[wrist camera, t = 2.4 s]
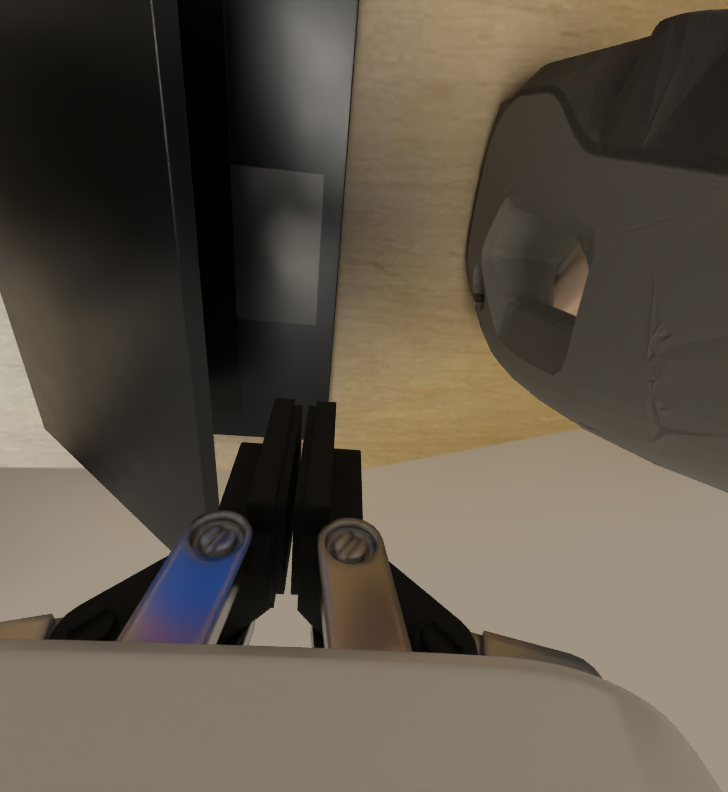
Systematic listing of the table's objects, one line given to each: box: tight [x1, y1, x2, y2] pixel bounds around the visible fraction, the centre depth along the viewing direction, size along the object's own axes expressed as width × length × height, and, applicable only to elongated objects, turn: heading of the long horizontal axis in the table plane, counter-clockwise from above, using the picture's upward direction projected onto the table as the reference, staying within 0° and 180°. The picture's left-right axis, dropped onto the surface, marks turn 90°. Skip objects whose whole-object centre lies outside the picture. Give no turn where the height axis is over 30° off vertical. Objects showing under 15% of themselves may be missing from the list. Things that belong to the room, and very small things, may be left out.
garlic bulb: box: [553, 243, 589, 316], centre depth 30 cm, size 7×6×8 cm
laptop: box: [177, 0, 359, 440], centre depth 29 cm, size 21×30×2 cm
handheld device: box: [466, 9, 728, 492], centre depth 19 cm, size 6×15×25 cm, turn 171°
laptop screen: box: [0, 0, 219, 551], centre depth 22 cm, size 21×30×1 cm
